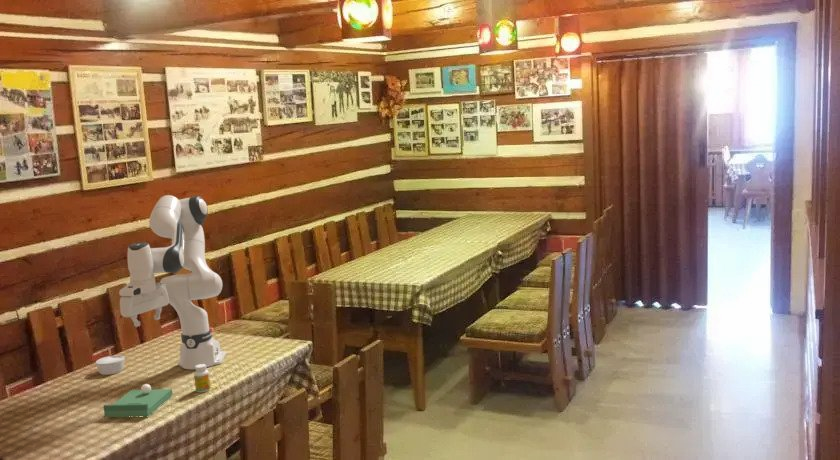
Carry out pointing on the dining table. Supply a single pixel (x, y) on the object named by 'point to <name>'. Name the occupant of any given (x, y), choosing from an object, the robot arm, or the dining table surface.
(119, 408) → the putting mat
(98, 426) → the dining table surface
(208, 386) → the supplement bottle
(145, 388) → the ball
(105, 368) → the ramekin
